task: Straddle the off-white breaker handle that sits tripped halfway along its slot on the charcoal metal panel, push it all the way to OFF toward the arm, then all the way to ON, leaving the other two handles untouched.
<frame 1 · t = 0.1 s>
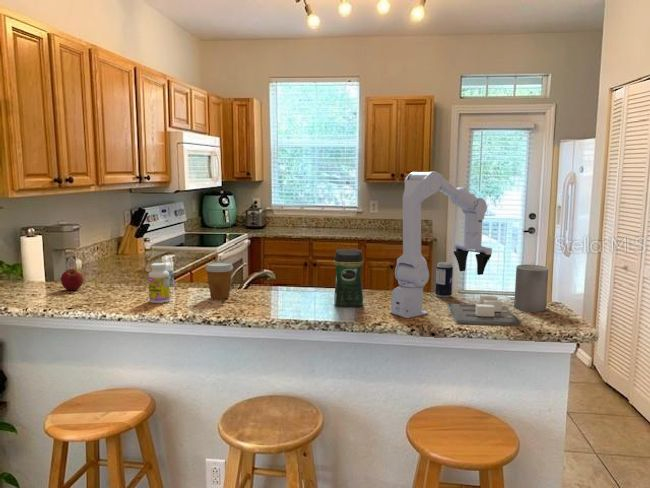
hand: (471, 272, 167), 10 cm above the table, fingers open, 7 cm apart
breaker panel: (484, 319, 147), on the table
handle tripped: (484, 310, 147), point 3 cm above the table, slide at 0.0 cm
coffee jar: (348, 305, 163), on the table
beverage can: (443, 296, 176), on the table
supplement bottle: (159, 302, 166), on the table
handle far: (488, 301, 158), point 3 cm above the table, slide at 3.5 cm
pillar candle: (529, 309, 160), on the table
handle middle: (492, 305, 152), point 3 cm above the table, slide at 3.5 cm
disposable coffee cup: (220, 298, 171), on the table
apple: (73, 290, 181), on the table
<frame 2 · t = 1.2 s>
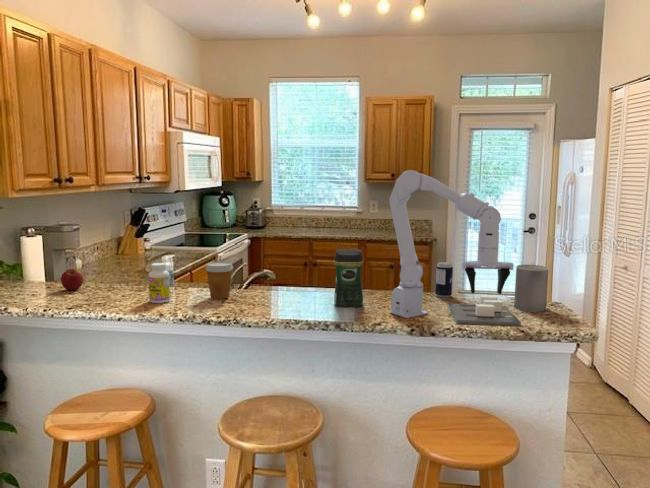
hand: (485, 292, 146), 8 cm above the table, fingers open, 7 cm apart
nothing on the table moved.
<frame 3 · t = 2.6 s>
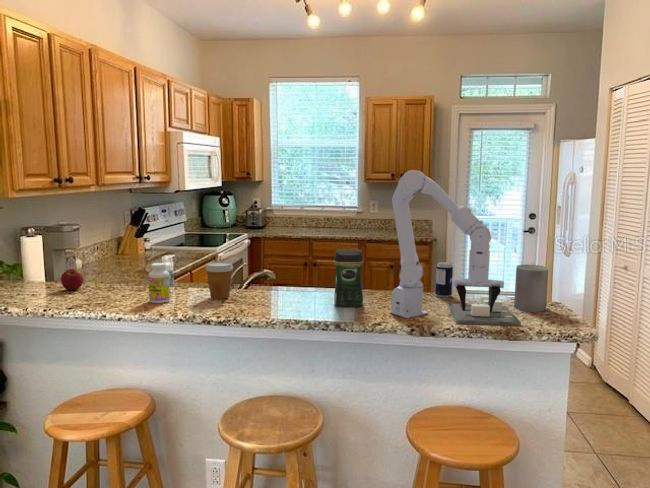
hand: (476, 310, 147), 3 cm above the table, fingers open, 7 cm apart
handle tripped: (480, 310, 147), point 3 cm above the table, slide at -1.4 cm, touching gripper
everything else where it was.
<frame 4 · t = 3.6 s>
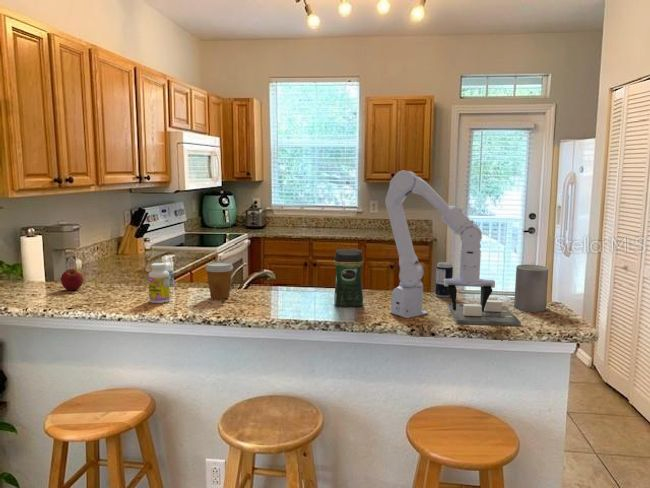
hand: (467, 310, 147), 3 cm above the table, fingers open, 7 cm apart
handle tripped: (472, 309, 147), point 3 cm above the table, slide at -3.6 cm, touching gripper
everything else where it was.
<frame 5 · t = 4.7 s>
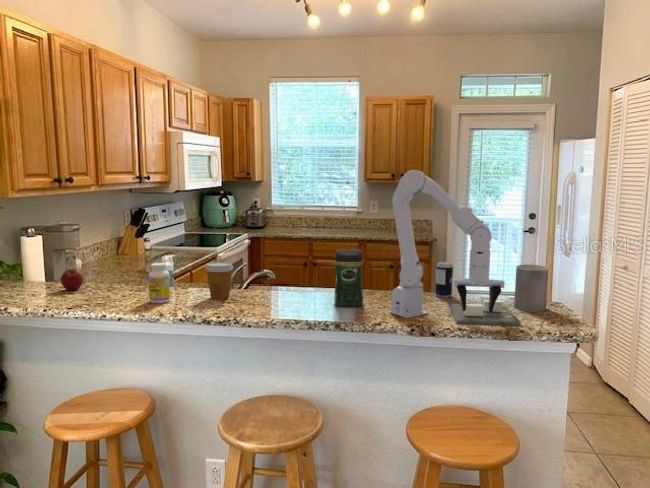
hand: (477, 310, 147), 3 cm above the table, fingers open, 7 cm apart
handle tripped: (473, 310, 147), point 3 cm above the table, slide at -3.3 cm, touching gripper
everything else where it was.
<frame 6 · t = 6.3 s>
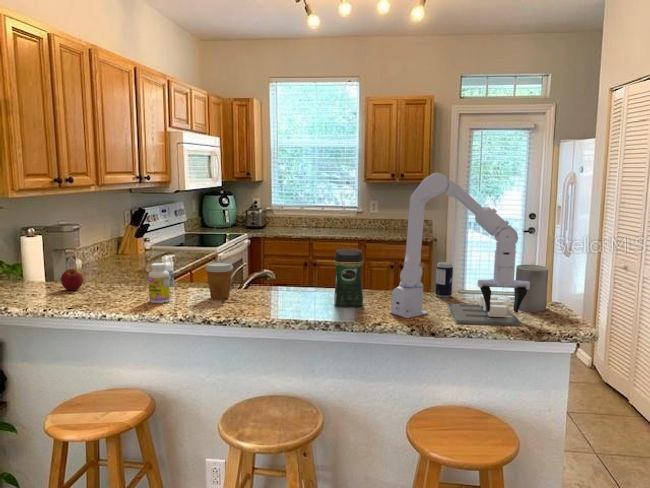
hand: (501, 311, 146), 3 cm above the table, fingers open, 7 cm apart
handle tripped: (497, 310, 146), point 3 cm above the table, slide at 3.6 cm, touching gripper
everything else where it was.
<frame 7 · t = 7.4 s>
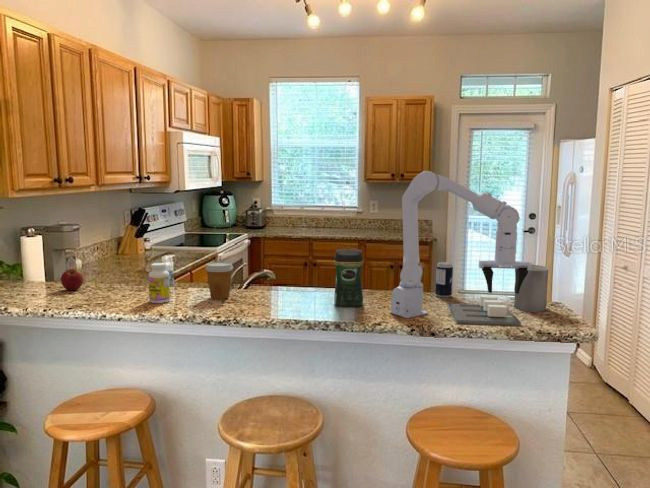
hand: (503, 292, 145), 8 cm above the table, fingers open, 7 cm apart
handle tripped: (497, 310, 146), point 3 cm above the table, slide at 3.6 cm
everything else where it was.
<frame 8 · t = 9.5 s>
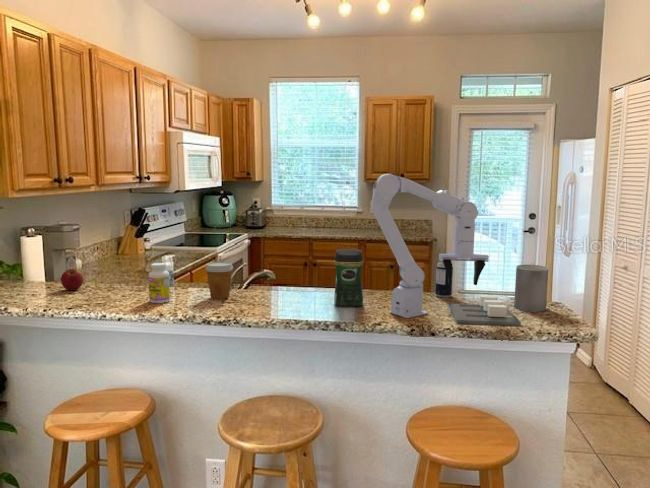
hand: (462, 284, 152), 9 cm above the table, fingers open, 7 cm apart
nothing on the table moved.
at the end: handle tripped slide at 3.6 cm; handle middle slide at 3.5 cm; handle far slide at 3.5 cm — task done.
